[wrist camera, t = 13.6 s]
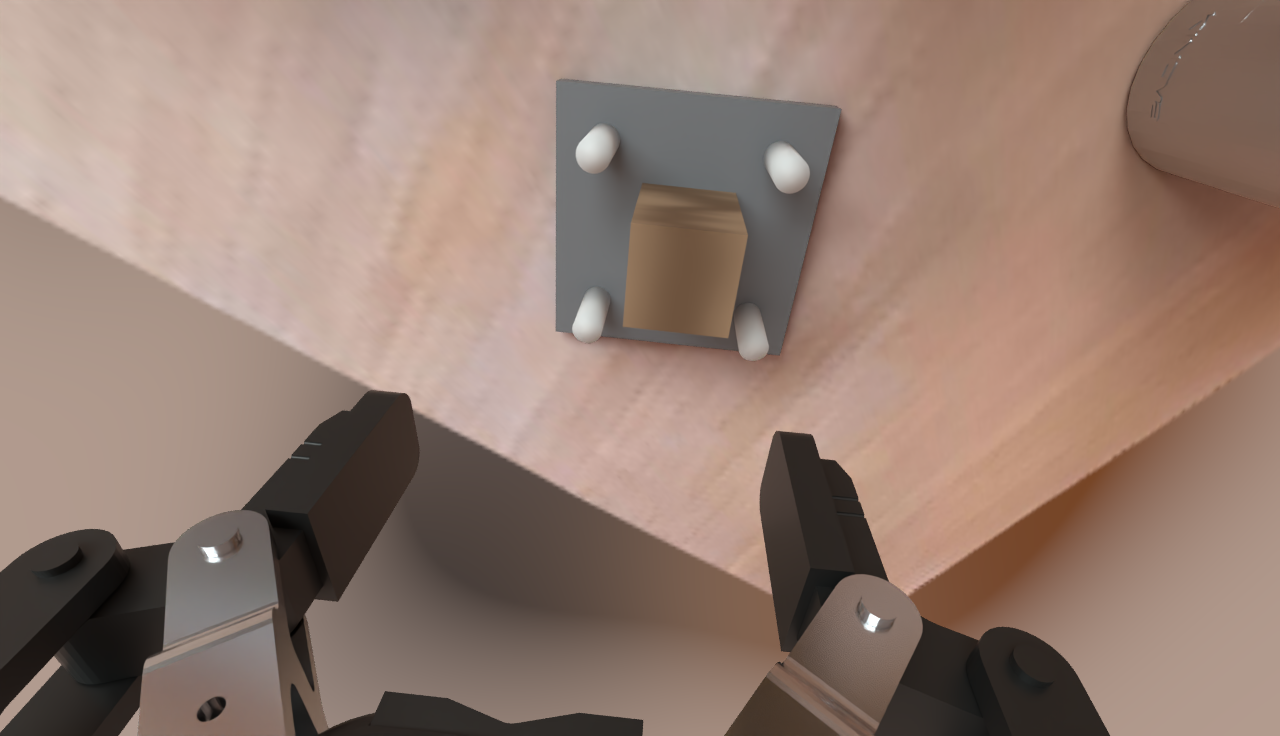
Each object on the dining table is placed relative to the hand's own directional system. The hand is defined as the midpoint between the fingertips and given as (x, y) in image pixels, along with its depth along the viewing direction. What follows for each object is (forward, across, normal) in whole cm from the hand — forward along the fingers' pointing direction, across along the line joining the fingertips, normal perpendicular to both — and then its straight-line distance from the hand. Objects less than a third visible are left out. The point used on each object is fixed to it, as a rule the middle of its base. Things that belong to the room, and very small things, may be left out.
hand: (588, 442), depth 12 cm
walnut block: (+21, -2, +2) cm, 21 cm away
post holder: (+22, -2, +2) cm, 22 cm away
